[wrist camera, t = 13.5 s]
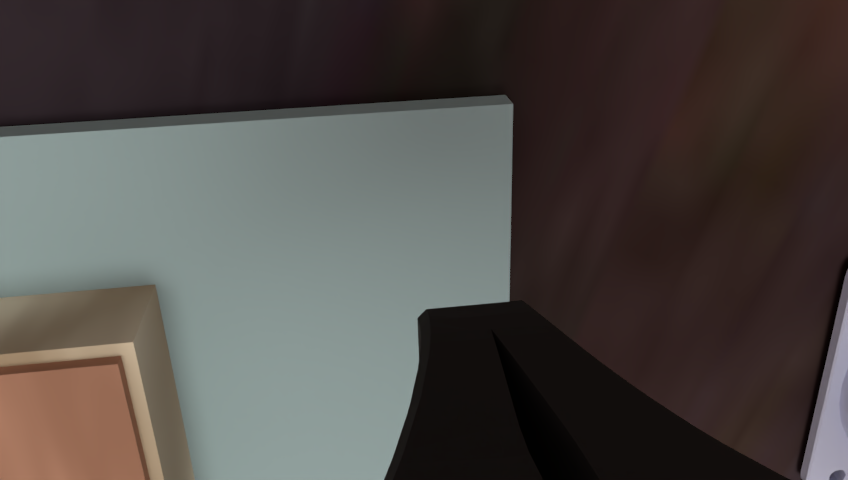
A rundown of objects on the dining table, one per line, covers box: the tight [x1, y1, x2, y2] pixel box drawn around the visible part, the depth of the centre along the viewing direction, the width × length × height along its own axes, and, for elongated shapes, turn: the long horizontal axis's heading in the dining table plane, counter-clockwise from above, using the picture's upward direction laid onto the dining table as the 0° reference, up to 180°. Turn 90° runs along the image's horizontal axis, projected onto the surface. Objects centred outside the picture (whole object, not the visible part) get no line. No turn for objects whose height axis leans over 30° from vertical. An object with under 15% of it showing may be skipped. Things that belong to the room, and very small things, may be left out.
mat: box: [0, 95, 513, 480], centre depth 20 cm, size 17×14×1 cm
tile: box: [0, 285, 195, 480], centre depth 18 cm, size 3×7×7 cm
